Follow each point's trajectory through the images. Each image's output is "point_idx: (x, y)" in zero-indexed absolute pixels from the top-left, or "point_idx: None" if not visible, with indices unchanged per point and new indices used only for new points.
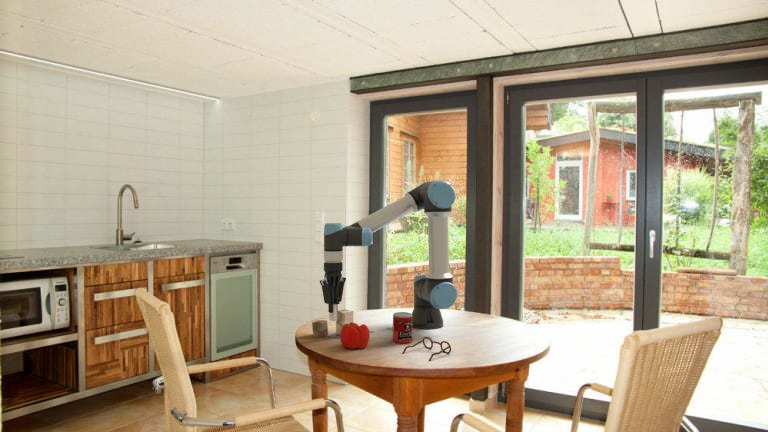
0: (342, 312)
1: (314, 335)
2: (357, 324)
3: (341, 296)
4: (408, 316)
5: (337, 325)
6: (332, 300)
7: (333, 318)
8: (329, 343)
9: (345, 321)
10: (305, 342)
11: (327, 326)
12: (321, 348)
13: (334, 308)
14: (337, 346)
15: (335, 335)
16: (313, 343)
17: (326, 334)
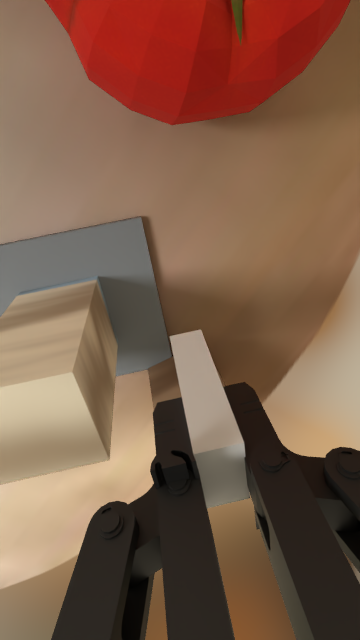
0: (84, 399)
1: (222, 380)
2: (105, 1)
3: (81, 601)
4: None
5: (111, 367)
6: (302, 500)
7: (206, 347)
8: (239, 232)
9: (78, 326)
10: (311, 323)
11: (154, 402)
12: (347, 164)
13: (224, 407)
14: (250, 135)
15: (121, 340)
16: (299, 285)
17: (166, 363)
